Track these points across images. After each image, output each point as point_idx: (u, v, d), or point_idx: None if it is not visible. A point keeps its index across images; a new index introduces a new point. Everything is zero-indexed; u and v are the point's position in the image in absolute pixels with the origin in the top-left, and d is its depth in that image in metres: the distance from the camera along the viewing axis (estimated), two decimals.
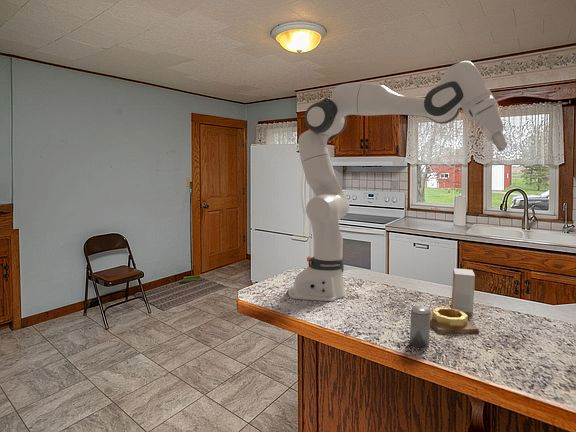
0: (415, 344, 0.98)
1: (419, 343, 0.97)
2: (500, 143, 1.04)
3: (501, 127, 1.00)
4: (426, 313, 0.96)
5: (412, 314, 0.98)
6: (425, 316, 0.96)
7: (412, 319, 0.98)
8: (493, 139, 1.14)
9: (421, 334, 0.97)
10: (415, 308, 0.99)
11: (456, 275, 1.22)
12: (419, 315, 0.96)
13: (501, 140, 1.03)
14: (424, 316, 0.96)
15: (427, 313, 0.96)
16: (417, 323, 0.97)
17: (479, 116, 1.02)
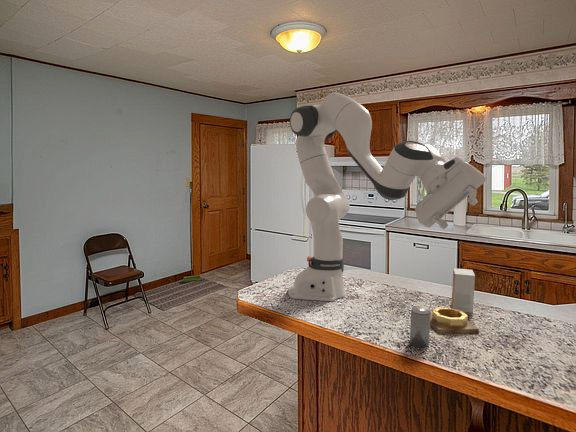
0: (415, 344, 0.98)
1: (419, 343, 0.97)
2: (472, 196, 0.90)
3: (485, 179, 0.91)
4: (426, 313, 0.96)
5: (412, 314, 0.98)
6: (425, 316, 0.96)
7: (412, 319, 0.98)
8: (435, 216, 0.98)
9: (421, 334, 0.97)
10: (415, 308, 0.99)
11: (456, 275, 1.22)
12: (419, 315, 0.96)
13: (473, 194, 0.90)
14: (424, 316, 0.96)
15: (427, 313, 0.96)
16: (417, 323, 0.97)
17: (465, 162, 0.94)
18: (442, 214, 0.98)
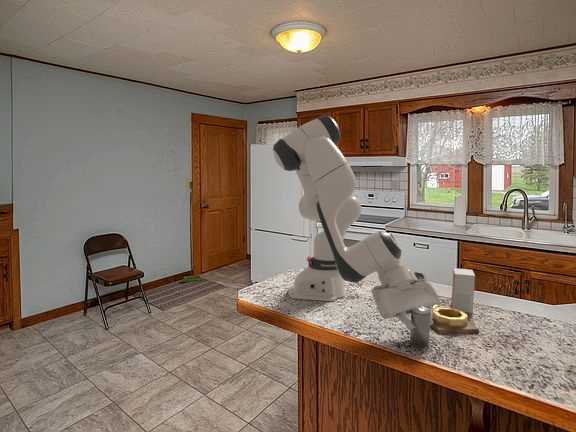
0: (415, 344, 0.98)
1: (419, 343, 0.97)
2: None
3: None
4: (426, 313, 0.96)
5: (412, 314, 0.98)
6: (425, 316, 0.96)
7: (412, 319, 0.98)
8: None
9: (421, 334, 0.97)
10: (415, 308, 0.99)
11: (456, 275, 1.22)
12: (419, 315, 0.96)
13: None
14: (424, 316, 0.96)
15: (427, 313, 0.96)
16: (417, 323, 0.97)
17: None
18: None
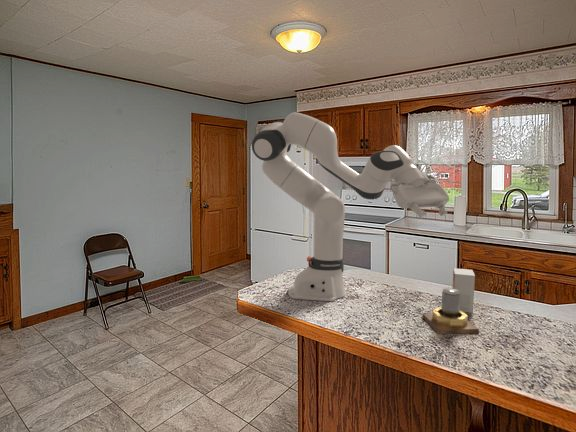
0: None
1: None
2: None
3: None
4: (456, 294, 1.08)
5: (443, 295, 1.10)
6: (456, 296, 1.08)
7: (443, 299, 1.10)
8: None
9: (452, 312, 1.09)
10: (446, 290, 1.11)
11: (456, 275, 1.22)
12: (450, 295, 1.08)
13: None
14: (455, 296, 1.08)
15: (457, 294, 1.08)
16: (448, 303, 1.09)
17: None
18: None
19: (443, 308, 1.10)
